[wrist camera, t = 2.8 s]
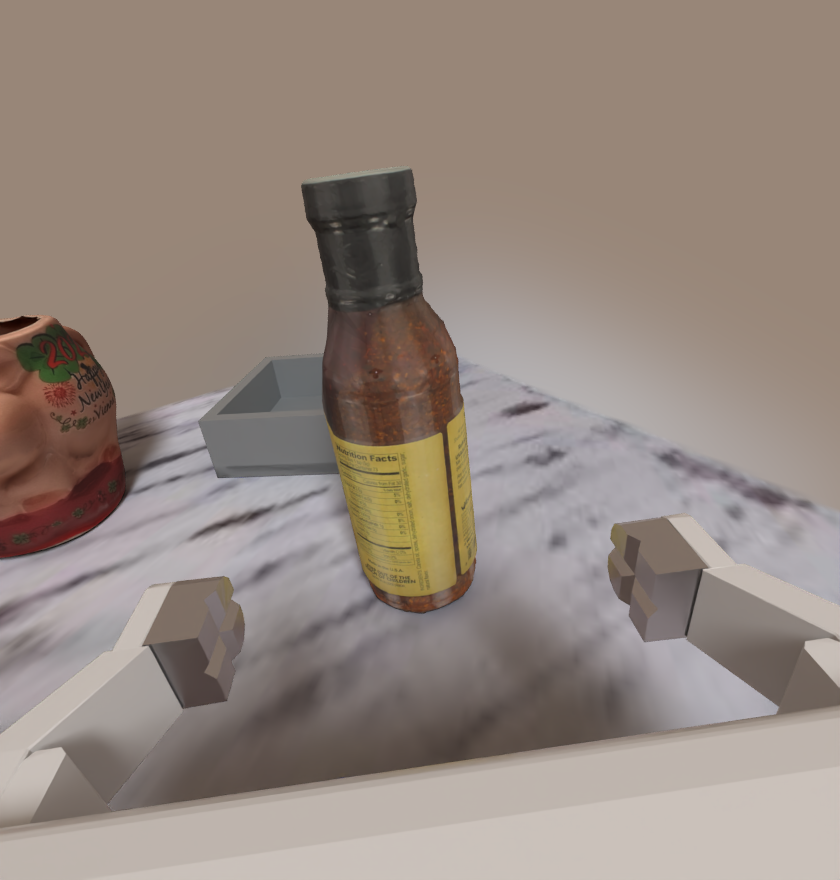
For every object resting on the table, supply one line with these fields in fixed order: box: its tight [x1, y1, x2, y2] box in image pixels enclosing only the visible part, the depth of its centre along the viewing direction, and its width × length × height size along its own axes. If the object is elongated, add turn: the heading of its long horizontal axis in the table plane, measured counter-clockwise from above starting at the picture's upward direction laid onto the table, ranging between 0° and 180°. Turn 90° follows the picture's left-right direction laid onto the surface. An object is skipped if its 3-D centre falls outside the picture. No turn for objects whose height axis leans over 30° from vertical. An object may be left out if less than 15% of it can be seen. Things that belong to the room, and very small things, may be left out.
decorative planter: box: [0, 315, 126, 558], centre depth 34 cm, size 20×12×14 cm, turn 8°
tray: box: [198, 353, 339, 478], centre depth 43 cm, size 14×14×5 cm
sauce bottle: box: [301, 166, 477, 613], centre depth 23 cm, size 6×6×20 cm
